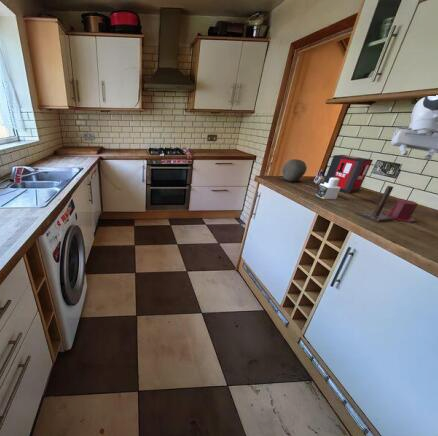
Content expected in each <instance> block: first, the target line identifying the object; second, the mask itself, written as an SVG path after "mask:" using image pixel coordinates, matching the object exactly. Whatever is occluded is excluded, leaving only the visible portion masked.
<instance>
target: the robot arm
mask: <svg viewBox="0 0 438 436" xmlns="http://www.w3.org/2000/svg"><path fill="white" fill-rule="evenodd" d="M390 145H391V146H393V147H398V149H399V151H400V156H403V157H404V156H405V157H406V156H407V155H408V154H409V150H407V149H411V150H416V151H417V150H418V151H423V152H427V153H428V154H427V155H425V156H424V160H427V161H429V160H432V159H433V156H434V155H435V154H438V95H436V96H427V95H425V97H422V98H421V99H419V100H418V101H417V102H416V103H415V105H414V106H413V108H412V111H411V116H410V122H409V124H408V127H404V126H399V127H396V128H395V129H394V132H393V136H392V138H391V140H390Z"/></svg>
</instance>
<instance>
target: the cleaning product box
mask: <svg viewBox="0 0 438 436" xmlns="http://www.w3.org/2000/svg"><path fill="white" fill-rule="evenodd" d="M372 163H373V159H370V158H366V157H365V158H364V157H358V156H354V155H346V154H334V155H333V157H332V158H331V162H330V165H329V167H328V170H327V172H326V175H325V178H324V180H323V183H322V184H325V183H324V182H325V179H326V177H328V176H333V177H337V178H339V182H338V184H337V185H336V186H338V187H340V190H339V192H344V193H347V194H353V193H354V194H355V193H359V191H360V190H361V187H362V185H363V184H364V180H365V178H366V176H367V174H368V172H369V169H370V167H371V165H372Z"/></svg>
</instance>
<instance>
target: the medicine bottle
mask: <svg viewBox="0 0 438 436" xmlns="http://www.w3.org/2000/svg"><path fill="white" fill-rule="evenodd" d="M325 178H326V179H325ZM325 178H324V180H325V182H324V181H323V183H325V184H323V183H318V187H317V190H316V193H315V196H316V197H319V198H321V199H322V200H337V198H338V194H339V193H340V187H338V186H336V185H337V184H338V182H339V178H337V177H333V176H328V177H326V176H325Z"/></svg>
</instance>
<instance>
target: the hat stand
mask: <svg viewBox="0 0 438 436" xmlns="http://www.w3.org/2000/svg"><path fill="white" fill-rule="evenodd" d="M393 190H394V186H392V185H387V186H386V188H385V189H384V192H383V194H382V196H381V198H380V200H379V201H378V203H377V206H376V207H375V210H364V211H362V210H361V211H358V212H357V215H359V216H362V217H365V218H367V219H370V220H372V221H374V222H376V223H377V222H378V223H382V222H393V221H394V220H395V219H394V218H392V217H389V216H386V215H384V214H383V213H382V211H383V208H384V207H385V204H386V203H387V202H388V199H389V197H390V195H391V193H392V192H393Z"/></svg>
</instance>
